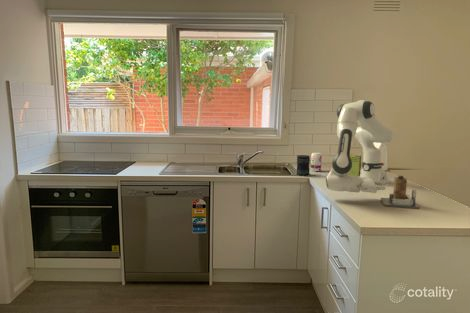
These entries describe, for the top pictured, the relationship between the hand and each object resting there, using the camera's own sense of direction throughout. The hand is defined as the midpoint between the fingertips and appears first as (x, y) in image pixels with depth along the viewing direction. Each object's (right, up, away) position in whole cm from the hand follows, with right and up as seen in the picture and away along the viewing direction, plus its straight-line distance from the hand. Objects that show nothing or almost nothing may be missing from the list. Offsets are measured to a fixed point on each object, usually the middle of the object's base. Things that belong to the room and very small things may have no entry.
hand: (383, 186), depth 170 cm
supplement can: (-13, +4, +91) cm, 92 cm away
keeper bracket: (+8, -10, -1) cm, 12 cm away
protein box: (+9, +1, +75) cm, 76 cm away
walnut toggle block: (+8, -9, -1) cm, 12 cm away
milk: (+39, +5, +96) cm, 104 cm away
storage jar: (-27, +1, +76) cm, 81 cm away
